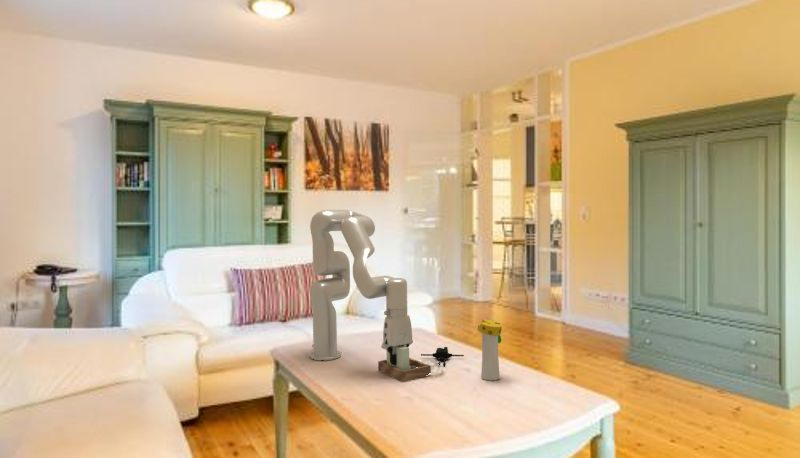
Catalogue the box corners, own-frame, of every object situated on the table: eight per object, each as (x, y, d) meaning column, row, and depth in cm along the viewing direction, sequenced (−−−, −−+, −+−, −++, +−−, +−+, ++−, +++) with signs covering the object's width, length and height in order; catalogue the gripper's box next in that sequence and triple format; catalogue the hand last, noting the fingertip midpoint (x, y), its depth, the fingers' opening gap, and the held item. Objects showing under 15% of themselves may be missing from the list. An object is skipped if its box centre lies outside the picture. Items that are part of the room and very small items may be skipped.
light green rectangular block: (386, 365, 191) (386, 343, 191) (394, 363, 193) (394, 342, 193) (402, 372, 183) (402, 349, 182) (410, 370, 185) (410, 347, 184)
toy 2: (505, 375, 185) (505, 319, 184) (499, 383, 177) (498, 324, 176) (483, 372, 188) (482, 317, 187) (476, 380, 180) (475, 322, 179)
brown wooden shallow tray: (378, 370, 192) (378, 361, 192) (404, 364, 199) (404, 355, 199) (403, 382, 179) (403, 372, 179) (430, 375, 186) (430, 365, 186)
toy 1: (464, 370, 195) (463, 356, 210) (464, 358, 195) (463, 345, 210) (419, 369, 197) (421, 355, 212) (418, 357, 196) (421, 344, 211)
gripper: (383, 317, 179) (384, 370, 180) (421, 311, 189) (422, 361, 189) (372, 314, 185) (372, 365, 186) (409, 308, 195) (409, 357, 195)
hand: (397, 362), depth 188 cm, fingers closed on light green rectangular block, 3 cm apart
